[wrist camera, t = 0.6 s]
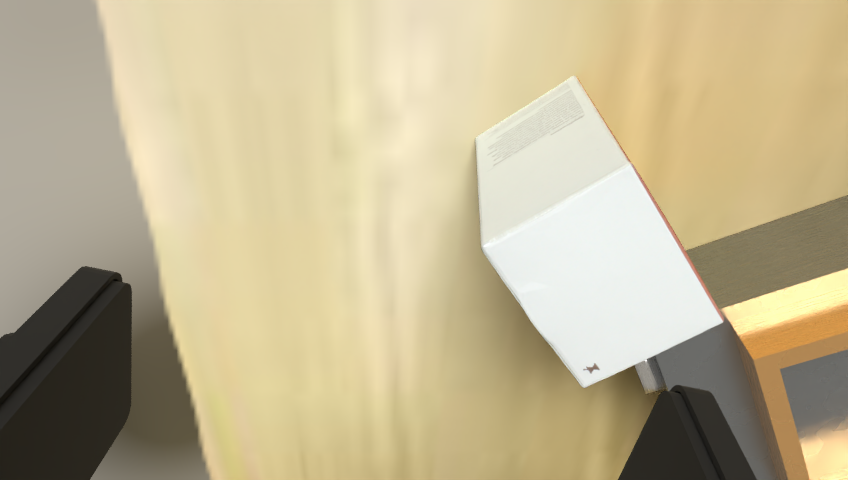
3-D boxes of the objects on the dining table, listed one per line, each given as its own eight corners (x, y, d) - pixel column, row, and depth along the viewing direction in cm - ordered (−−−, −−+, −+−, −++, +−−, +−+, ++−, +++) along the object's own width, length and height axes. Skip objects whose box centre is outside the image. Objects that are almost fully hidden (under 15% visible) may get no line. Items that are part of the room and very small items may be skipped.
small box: (647, 190, 37) (730, 326, 25) (547, 245, 39) (582, 395, 27) (575, 69, 34) (633, 160, 22) (471, 135, 36) (475, 250, 24)
